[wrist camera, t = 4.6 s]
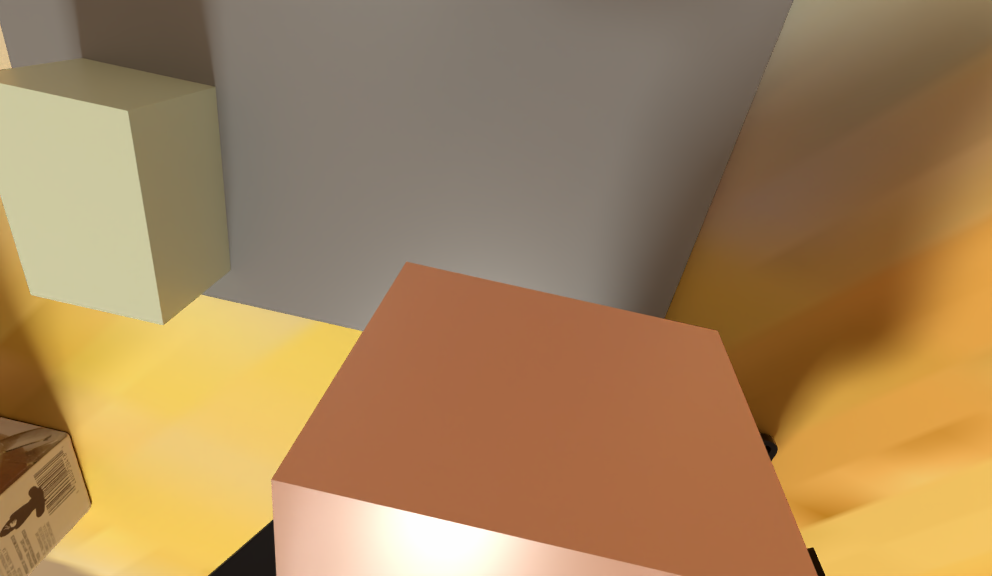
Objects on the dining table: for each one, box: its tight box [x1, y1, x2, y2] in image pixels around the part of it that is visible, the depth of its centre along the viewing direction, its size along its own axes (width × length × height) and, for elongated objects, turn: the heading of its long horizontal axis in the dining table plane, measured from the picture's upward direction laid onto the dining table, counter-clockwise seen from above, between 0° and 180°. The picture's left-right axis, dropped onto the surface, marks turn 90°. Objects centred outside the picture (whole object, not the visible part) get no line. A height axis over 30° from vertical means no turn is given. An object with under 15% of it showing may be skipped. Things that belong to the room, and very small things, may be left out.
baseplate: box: [0, 0, 793, 331], centre depth 15 cm, size 24×22×4 cm
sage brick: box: [0, 58, 231, 325], centre depth 18 cm, size 7×5×4 cm, turn 170°
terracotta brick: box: [271, 262, 818, 576], centre depth 8 cm, size 7×5×4 cm, turn 170°
